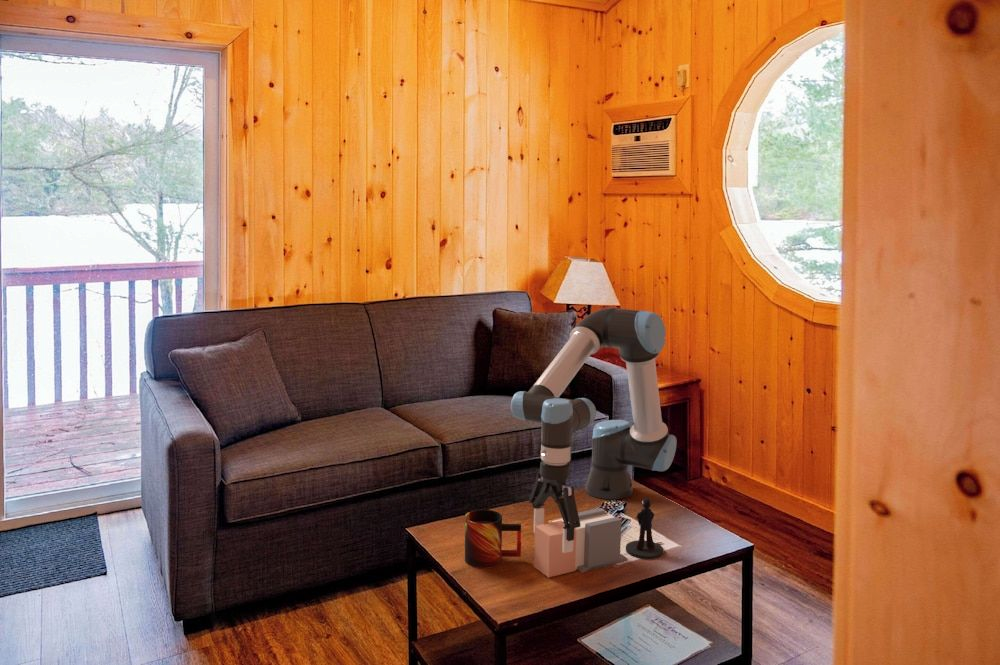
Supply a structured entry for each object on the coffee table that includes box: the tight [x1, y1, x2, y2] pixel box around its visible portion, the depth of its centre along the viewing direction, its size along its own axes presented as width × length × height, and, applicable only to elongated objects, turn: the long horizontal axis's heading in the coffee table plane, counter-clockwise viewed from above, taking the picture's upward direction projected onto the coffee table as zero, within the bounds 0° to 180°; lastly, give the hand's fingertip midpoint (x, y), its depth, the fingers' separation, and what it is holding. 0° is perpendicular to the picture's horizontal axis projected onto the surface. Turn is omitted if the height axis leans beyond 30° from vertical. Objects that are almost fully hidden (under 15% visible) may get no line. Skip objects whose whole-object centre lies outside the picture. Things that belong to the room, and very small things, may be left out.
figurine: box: [625, 497, 665, 560], centre depth 224 cm, size 10×10×15 cm
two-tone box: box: [568, 507, 628, 573], centre depth 218 cm, size 16×9×12 cm, turn 119°
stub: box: [533, 520, 576, 578], centre depth 213 cm, size 8×7×11 cm
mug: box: [464, 509, 522, 569], centre depth 219 cm, size 10×14×12 cm
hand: (552, 541), depth 212 cm, fingers open, 13 cm apart
